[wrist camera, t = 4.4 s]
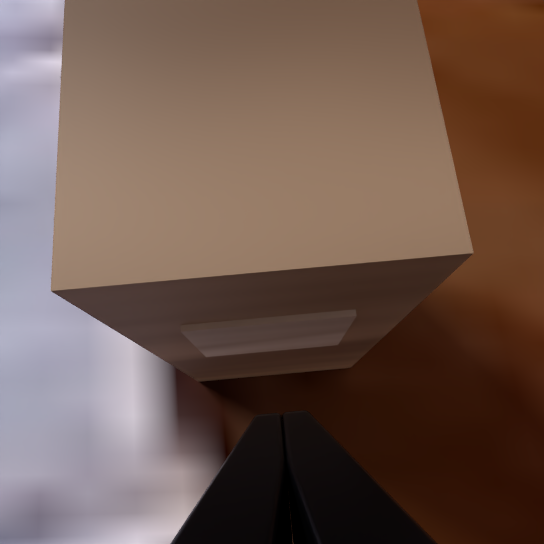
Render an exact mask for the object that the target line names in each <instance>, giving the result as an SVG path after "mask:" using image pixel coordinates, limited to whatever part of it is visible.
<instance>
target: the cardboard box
mask: <svg viewBox="0 0 544 544" xmlns="http://www.w3.org/2000/svg"><path fill="white" fill-rule="evenodd" d="M472 254H473V248H472V244H471V239H470V235H469V231H468V226H467V222H466V217H465V213H464V208H463V204H462V199H461V195H460V190H459V186H458V182H457V177H456V173H455V168H454V164H453V159H452V155H451V150H450V146H449V141H448V137H447V132H446V128H445V124H444V119H443V115H442V110H441V106H440V101H439V97H438V92H437V88H436V83H435V79H434V75H433V70H432V66H431V61H430V57H429V52H428V48H427V43H426V39H425V34H424V30H423V26H422V21H421V17H420V12H419V8H418V3H417V0H65V8H64V28H63V49H62V70H61V90H60V111H59V132H58V153H57V173H56V194H55V215H54V235H53V256H52V277H51V291H52V292H53V293H55V294H57V295H58V296H60V297H62V298H63V299H65V300H66V301H68V302H70V303H71V304H73V305H75V306H76V307H78V308H80V309H81V310H83V311H84V312H86V313H88V314H89V315H91V316H93V317H94V318H96V319H97V320H99V321H101V322H102V323H104V324H106V325H107V326H109V327H111V328H112V329H114V330H115V331H117V332H119V333H120V334H122V335H124V336H125V337H127V338H128V339H130V340H132V341H133V342H135V343H137V344H138V345H140V346H142V347H143V348H145V349H146V350H148V351H150V352H151V353H153V354H155V355H156V356H158V357H160V358H161V359H163V360H164V361H166V362H168V363H169V364H171V365H173V366H174V367H176V368H177V369H179V370H181V371H182V372H184V373H186V374H187V375H189V376H191V377H192V378H194V379H195V380H197V381H199V382H201V381H212V380H223V379H234V378H245V377H256V376H267V375H278V374H289V373H300V372H311V371H321V370H332V369H343V368H351V367H352V366H353V365H354V364H355V363H356V362H357V361H358V360H359V359H360V358H362V357H363V356H364V355H365V354H366V353H367V352H368V351H369V350H370V349H371V348H372V347H373V346H374V345H376V344H377V343H378V342H379V341H380V340H381V339H382V338H383V337H384V336H385V335H386V334H387V333H388V332H389V331H391V330H392V329H393V328H394V327H395V326H396V325H397V324H398V323H399V322H400V321H401V320H402V319H403V318H404V317H406V316H407V315H408V314H409V313H410V312H411V311H412V310H413V309H414V308H415V307H416V306H417V305H418V304H419V303H421V302H422V301H423V300H424V299H425V298H426V297H427V296H428V295H429V294H430V293H431V292H432V291H433V290H434V289H436V288H437V287H438V286H439V285H440V284H441V283H442V282H443V281H444V280H445V279H446V278H447V277H448V276H450V275H451V274H452V273H453V272H454V271H455V270H456V269H457V268H458V267H459V266H460V265H461V264H462V263H463V262H465V261H466V260H467V259H468V258H469V257H470V256H471V255H472Z"/></svg>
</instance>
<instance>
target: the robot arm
mask: <svg viewBox="0 0 544 544" xmlns="http://www.w3.org/2000/svg"><path fill="white" fill-rule="evenodd" d="M282 424H283V427H282ZM283 436H284V437H283ZM288 492H289V493H288ZM289 503H290V504H289ZM290 514H291V516H290ZM291 525H292V528H291ZM292 535H293V541H292ZM171 544H437V543H436V542H435V541H434V540H433V539H432V538H431V537H430V536H429V535H428V534H427V533H426V532H425V531H424V530H423V528H422V527H421V526H420V525H419V524H418V523H417V522H416V521H415V520H414V519H413V518H412V517H411V516H410V515H409V514H408V513H407V512H406V511H405V510H404V509H403V508H402V507H401V506H400V505H399V504H398V503H397V502H396V501H395V500H394V499H393V498H392V497H391V496H390V495H389V494H388V493H387V492H386V491H385V490H384V489H383V488H382V487H381V486H380V485H379V484H378V483H377V482H376V480H375V479H374V478H373V477H372V476H371V475H370V474H369V473H368V472H367V471H366V470H365V469H364V468H363V467H362V466H361V465H360V464H359V463H358V462H357V461H356V460H355V459H354V458H353V457H352V456H351V455H350V454H349V453H348V452H347V451H346V450H345V449H344V448H343V447H342V446H341V445H340V444H339V443H338V442H337V441H336V440H335V439H334V438H333V437H332V436H331V435H330V434H329V432H328V431H327V430H326V429H325V428H324V427H323V426H322V425H321V424H320V423H319V422H318V421H317V420H316V419H315V418H314V417H313V416H312V415H311V414H310V413H309V412H307V411H293V412H285V413H284V414H283V415H282V417H281V415H280V414H278V413H271V414H260V415H256V416H255V417H254V419H253V420H252V422H251V423H250V425H249V426H248V428H247V429H246V431H245V432H244V434H243V435H242V437H241V438H240V440H239V441H238V443H237V444H236V446H235V447H234V449H233V450H232V452H231V453H230V455H229V456H228V458H227V459H226V461H225V462H224V464H223V465H222V467H221V468H220V470H219V471H218V473H217V474H216V476H215V477H214V479H213V480H212V482H211V483H210V485H209V486H208V488H207V489H206V491H205V492H204V494H203V495H202V497H201V498H200V500H199V501H198V503H197V505H196V506H195V508H194V509H193V511H192V512H191V514H190V515H189V517H188V518H187V520H186V521H185V523H184V524H183V526H182V527H181V529H180V530H179V532H178V533H177V535H176V536H175V538H174V539H173V541H172V542H171Z"/></svg>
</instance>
